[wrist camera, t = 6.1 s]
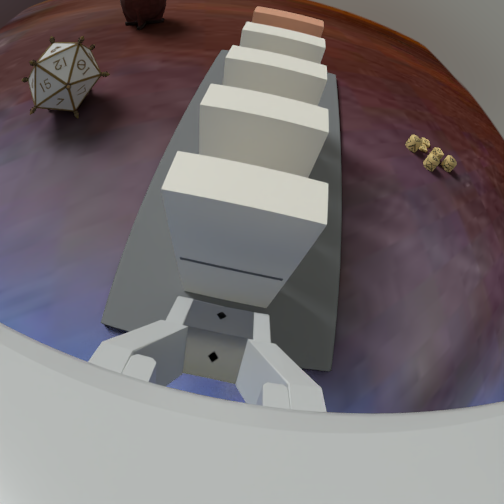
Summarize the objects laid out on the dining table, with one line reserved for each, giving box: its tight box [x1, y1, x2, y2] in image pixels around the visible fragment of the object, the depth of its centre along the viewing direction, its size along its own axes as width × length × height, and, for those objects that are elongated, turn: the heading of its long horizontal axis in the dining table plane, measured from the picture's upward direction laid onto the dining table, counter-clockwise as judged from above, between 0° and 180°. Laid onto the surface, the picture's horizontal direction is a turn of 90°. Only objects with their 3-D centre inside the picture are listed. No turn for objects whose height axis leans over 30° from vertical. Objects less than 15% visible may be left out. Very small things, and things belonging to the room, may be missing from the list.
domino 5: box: [161, 151, 328, 308], centre depth 13 cm, size 2×5×10 cm, turn 80°
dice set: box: [406, 135, 457, 172], centre depth 27 cm, size 5×5×2 cm
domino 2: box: [240, 22, 325, 64], centre depth 19 cm, size 2×5×10 cm, turn 81°
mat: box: [101, 50, 342, 371], centre depth 23 cm, size 32×14×1 cm, turn 170°
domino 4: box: [199, 84, 329, 178], centre depth 15 cm, size 2×5×10 cm, turn 80°
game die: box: [22, 36, 110, 118], centre depth 20 cm, size 9×8×10 cm
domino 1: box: [252, 6, 324, 38], centre depth 21 cm, size 2×5×10 cm, turn 80°
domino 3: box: [223, 45, 327, 106], centre depth 17 cm, size 2×5×10 cm, turn 81°
